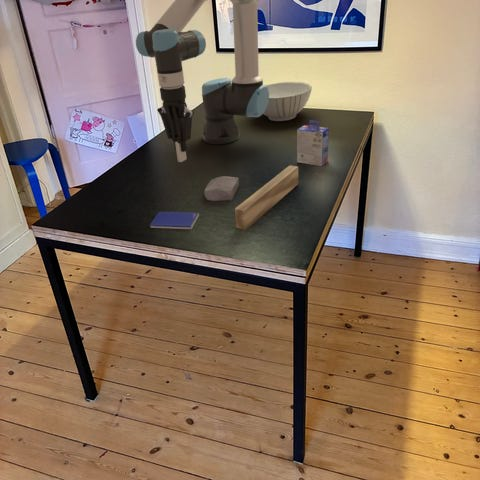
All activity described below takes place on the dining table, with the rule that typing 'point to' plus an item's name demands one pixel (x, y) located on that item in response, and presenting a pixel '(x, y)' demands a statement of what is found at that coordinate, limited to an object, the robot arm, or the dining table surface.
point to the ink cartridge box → (312, 144)
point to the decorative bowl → (286, 99)
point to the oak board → (266, 197)
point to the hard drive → (174, 220)
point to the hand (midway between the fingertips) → (182, 160)
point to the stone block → (221, 188)
